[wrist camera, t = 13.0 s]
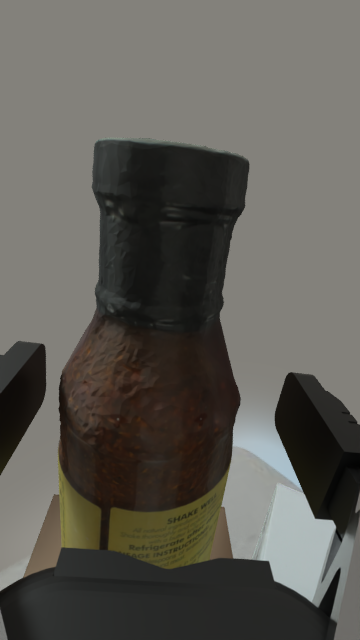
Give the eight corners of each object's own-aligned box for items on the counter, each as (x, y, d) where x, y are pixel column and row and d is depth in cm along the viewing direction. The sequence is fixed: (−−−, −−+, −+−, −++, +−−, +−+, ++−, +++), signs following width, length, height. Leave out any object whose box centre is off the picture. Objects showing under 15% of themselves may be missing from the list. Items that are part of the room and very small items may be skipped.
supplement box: (330, 635, 26) (391, 528, 21) (328, 774, 20) (415, 665, 15) (240, 584, 28) (277, 478, 24) (213, 693, 22) (255, 577, 17)
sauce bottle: (208, 572, 18) (323, 177, 10) (162, 737, 12) (336, 144, 5) (105, 519, 20) (137, 152, 12) (24, 643, 14) (-9, 107, 7)
